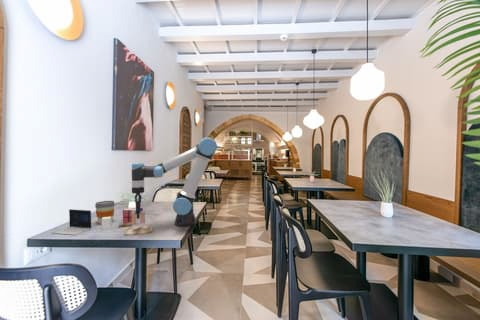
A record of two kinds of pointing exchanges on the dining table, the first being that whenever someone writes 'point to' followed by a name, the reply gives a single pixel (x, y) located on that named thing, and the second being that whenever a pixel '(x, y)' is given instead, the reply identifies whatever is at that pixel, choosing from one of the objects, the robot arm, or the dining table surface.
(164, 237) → the dining table surface
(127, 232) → the oak board
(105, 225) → the off-white square brick
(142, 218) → the terracotta brick
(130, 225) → the walnut plate
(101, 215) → the reusable coffee cup
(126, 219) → the puzzle cube
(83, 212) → the laptop
